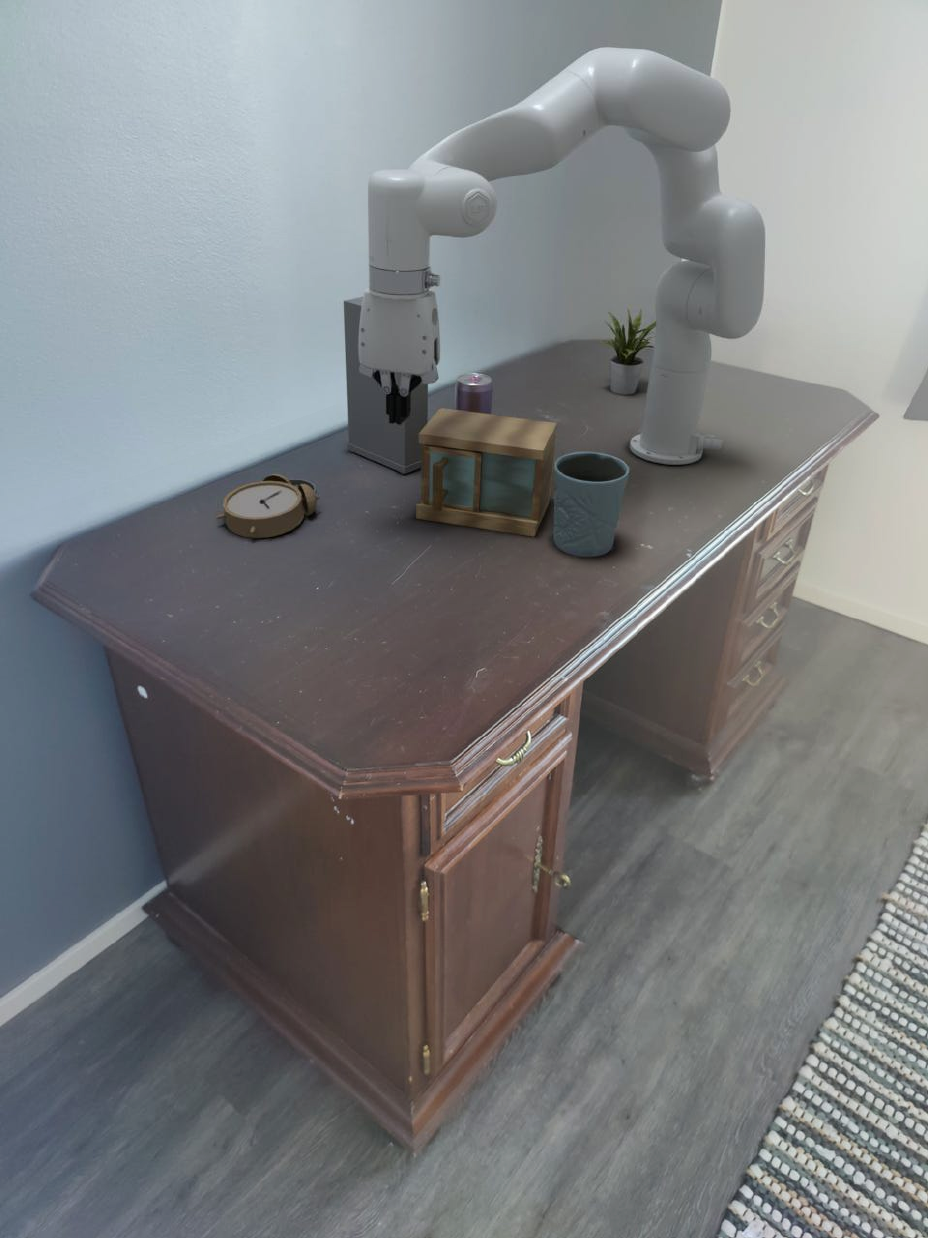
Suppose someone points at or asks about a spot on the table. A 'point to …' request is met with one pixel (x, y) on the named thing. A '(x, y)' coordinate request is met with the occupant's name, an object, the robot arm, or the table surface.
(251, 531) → the alarm clock
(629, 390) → the house plant
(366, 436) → the cassette tape recorder
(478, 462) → the cabinet door
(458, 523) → the curio cabinet
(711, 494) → the table surface
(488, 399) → the beverage can
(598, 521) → the blue-grey pot
